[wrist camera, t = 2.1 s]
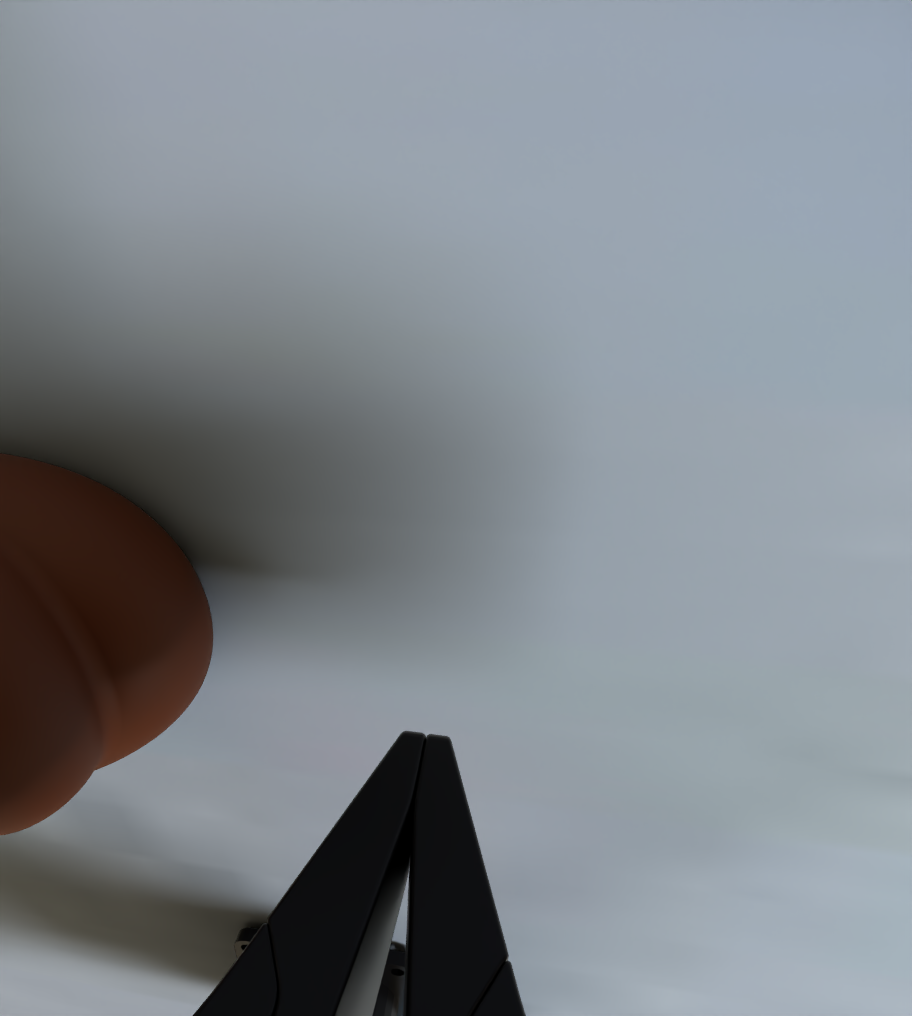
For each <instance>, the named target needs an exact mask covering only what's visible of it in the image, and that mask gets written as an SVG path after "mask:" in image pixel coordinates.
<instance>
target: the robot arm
mask: <svg viewBox="0 0 912 1016" xmlns="http://www.w3.org/2000/svg"><path fill="white" fill-rule="evenodd" d="M409 867H410V870H409ZM408 873H409V888H408V910H407V934H406V953H404V952H400V951H394V950H389V949H390V945H391V941H392V937H393V933H394V929H395V925H396V921H397V917H398V914H399V910H400V906H401V902H402V898H403V894H404V890H405V886H406V882H407V877H408ZM267 921H268V924H267V923H264V924H263V925H262V926H261V927H260V929H254V928H243V929H241V930H240V932H239V934H238V937H237V939H236V942H235V945H234V947H235V952H236V956H237V960H236V961H235V963H234V964H233V965H232V967H231V968H230V969H229V971H228V972H227V973H226V974H225V976H224V977H223V978H222V980H221V981H220V982H219V984H218V985H217V986H216V988H215V989H214V990H213V992H212V993H211V994H210V995H209V996H208V998H207V999H206V1000H205V1001H204V1002H203V1004H202V1005H201V1006H200V1007H199V1009H198V1010H197V1011H196V1012H195V1013H194V1015H193V1016H526V1015H525V1012H524V1008H523V1005H522V1002H521V998H520V995H519V991H518V987H517V984H516V980H515V976H514V973H513V969H512V965H511V963H510V962H509V961H508V957H509V955H508V951H507V947H506V944H505V940H504V936H503V933H502V929H501V925H500V921H499V918H498V914H497V910H496V906H495V903H494V899H493V895H492V891H491V888H490V884H489V880H488V876H487V873H486V869H485V865H484V862H483V858H482V854H481V850H480V847H479V843H478V839H477V835H476V832H475V828H474V824H473V820H472V817H471V813H470V809H469V806H468V802H467V798H466V794H465V791H464V787H463V783H462V779H461V776H460V772H459V768H458V764H457V761H456V757H455V753H454V749H453V746H452V742H451V740H450V738H449V737H448V736H442V735H434V734H429V735H428V736H427V737H426V736H425V734H423V733H419V732H412V731H404V732H402V733H401V734H400V736H399V737H398V738H397V740H396V741H395V743H394V744H393V745H392V747H391V748H390V749H389V751H388V752H387V754H386V755H385V756H384V758H383V759H382V760H381V762H380V763H379V765H378V766H377V767H376V769H375V770H374V772H373V773H372V774H371V776H370V777H369V778H368V780H367V781H366V783H365V784H364V785H363V787H362V788H361V790H360V791H359V792H358V794H357V795H356V796H355V798H354V799H353V801H352V802H351V803H350V805H349V806H348V807H347V809H346V810H345V812H344V813H343V814H342V816H341V817H340V819H339V820H338V821H337V823H336V824H335V825H334V827H333V828H332V830H331V831H330V832H329V834H328V835H327V837H326V838H325V839H324V841H323V842H322V843H321V845H320V846H319V848H318V849H317V850H316V852H315V853H314V854H313V856H312V857H311V859H310V860H309V861H308V863H307V864H306V866H305V867H304V868H303V870H302V871H301V872H300V874H299V875H298V877H297V878H296V879H295V881H294V882H293V884H292V885H291V886H290V888H289V889H288V890H287V892H286V893H285V895H284V896H283V897H282V899H281V900H280V901H279V903H278V904H277V906H276V907H275V908H274V910H273V911H272V913H271V914H270V915H269V917H268V919H267Z"/></svg>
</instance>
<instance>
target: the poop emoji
mask: <svg viewBox="0 0 912 1016" xmlns="http://www.w3.org/2000/svg"><path fill="white" fill-rule="evenodd" d="M212 648H213V627H212V618H211V613H210V608H209V605H208V601H207V598H206V595H205V592H204V590H203V587H202V585H201V583H200V580H199V578H198V576H197V574H196V572H195V571H194V569H193V567H192V565H191V564H190V562H189V560H188V559H187V557H186V556H185V554H184V553H183V552H182V550H181V549H180V548H179V546H178V545H177V544H176V543H175V541H174V540H173V539H172V538H171V537H170V536H169V534H168V533H167V532H166V531H165V530H164V529H163V528H162V527H161V526H160V525H159V524H158V523H157V522H156V521H154V520H153V519H152V518H151V517H150V516H149V515H148V514H146V513H145V512H144V511H143V510H141V509H140V508H139V507H137V506H136V505H135V504H133V503H132V502H130V501H129V500H128V499H126V498H124V497H123V496H121V495H120V494H118V493H116V492H115V491H113V490H111V489H110V488H108V487H106V486H104V485H102V484H100V483H98V482H96V481H94V480H91V479H89V478H87V477H85V476H82V475H80V474H78V473H75V472H72V471H70V470H67V469H64V468H61V467H58V466H55V465H51V464H48V463H44V462H41V461H37V460H33V459H28V458H24V457H19V456H14V455H8V454H1V453H0V835H6V834H10V833H14V832H17V831H20V830H23V829H26V828H28V827H31V826H33V825H35V824H37V823H39V822H40V821H42V820H44V819H46V818H47V817H49V816H50V815H52V814H53V813H55V812H56V811H57V810H59V809H60V808H61V807H62V806H64V805H65V804H66V803H67V802H68V801H69V800H70V799H71V798H72V797H74V795H75V794H76V793H77V792H78V791H79V790H80V789H81V788H82V787H83V785H84V784H85V783H86V782H87V780H88V779H89V778H90V776H91V774H92V773H93V771H94V770H97V769H99V768H102V767H104V766H107V765H109V764H111V763H113V762H115V761H118V760H120V759H122V758H124V757H126V756H127V755H129V754H131V753H133V752H135V751H136V750H138V749H140V748H141V747H143V746H144V745H146V744H147V743H149V742H150V741H152V740H153V739H155V738H156V737H157V736H158V735H160V734H161V733H162V732H164V731H165V730H166V729H167V728H168V727H169V726H170V725H171V724H173V723H174V722H175V721H176V720H177V719H178V718H179V717H180V715H181V714H182V713H183V712H184V711H185V710H186V708H187V707H188V706H189V705H190V703H191V702H192V700H193V699H194V697H195V696H196V694H197V693H198V691H199V689H200V687H201V685H202V683H203V681H204V679H205V676H206V674H207V671H208V668H209V664H210V661H211V655H212Z"/></svg>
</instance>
